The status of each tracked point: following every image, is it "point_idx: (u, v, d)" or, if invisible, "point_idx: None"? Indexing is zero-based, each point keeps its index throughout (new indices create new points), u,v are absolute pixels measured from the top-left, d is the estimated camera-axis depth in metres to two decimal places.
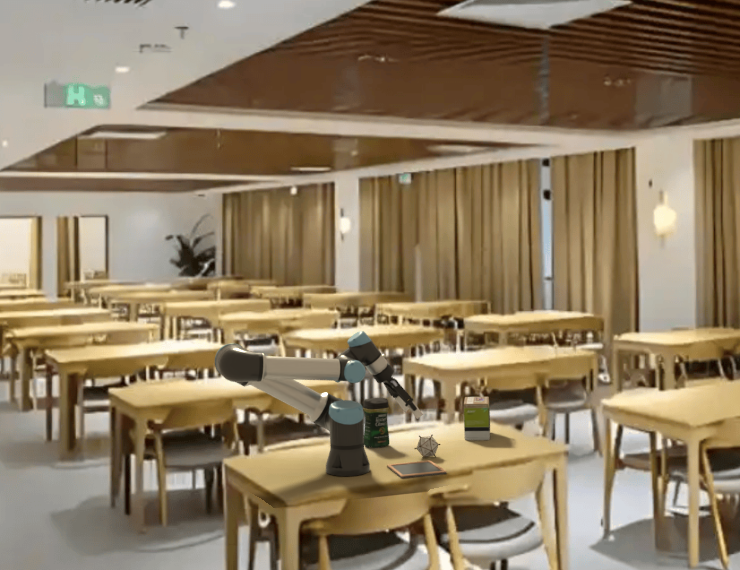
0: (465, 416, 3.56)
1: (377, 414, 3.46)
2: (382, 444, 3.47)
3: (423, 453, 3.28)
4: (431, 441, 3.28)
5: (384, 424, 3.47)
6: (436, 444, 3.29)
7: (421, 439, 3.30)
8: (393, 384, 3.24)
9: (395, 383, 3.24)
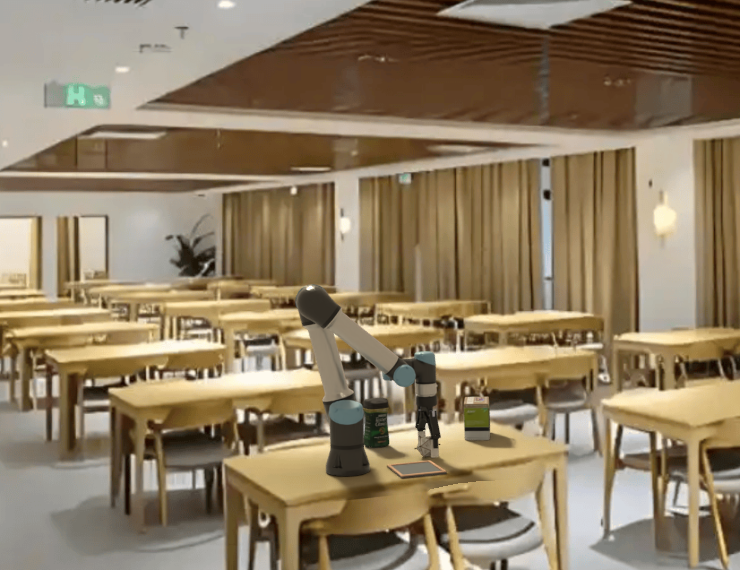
0: (465, 416, 3.56)
1: (377, 415, 3.46)
2: (382, 444, 3.47)
3: (423, 453, 3.28)
4: None
5: (384, 424, 3.47)
6: None
7: (421, 439, 3.30)
8: (431, 413, 3.23)
9: (434, 413, 3.23)
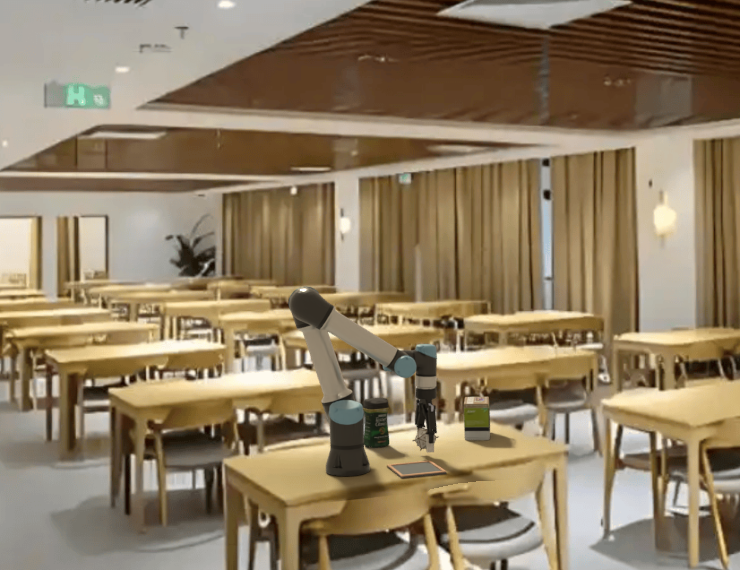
0: (465, 416, 3.56)
1: (377, 415, 3.46)
2: (382, 444, 3.47)
3: (421, 445, 3.28)
4: None
5: (384, 424, 3.47)
6: (434, 437, 3.29)
7: (419, 431, 3.29)
8: (430, 408, 3.23)
9: (432, 408, 3.23)
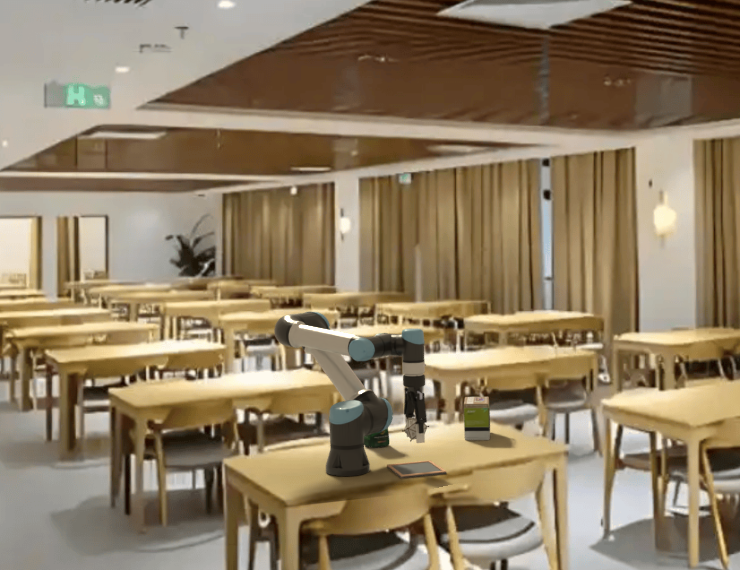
0: (465, 416, 3.56)
1: None
2: (382, 444, 3.47)
3: (411, 436, 3.09)
4: None
5: None
6: (425, 426, 3.10)
7: (409, 421, 3.11)
8: (419, 396, 3.04)
9: (421, 396, 3.05)
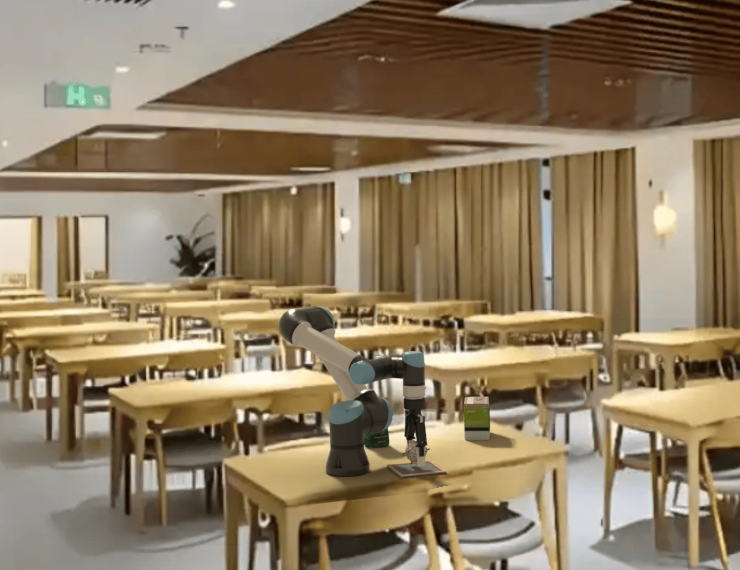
0: (465, 416, 3.56)
1: None
2: (382, 444, 3.47)
3: (411, 458, 3.10)
4: None
5: None
6: (425, 449, 3.10)
7: (409, 444, 3.11)
8: (419, 419, 3.05)
9: (422, 419, 3.05)
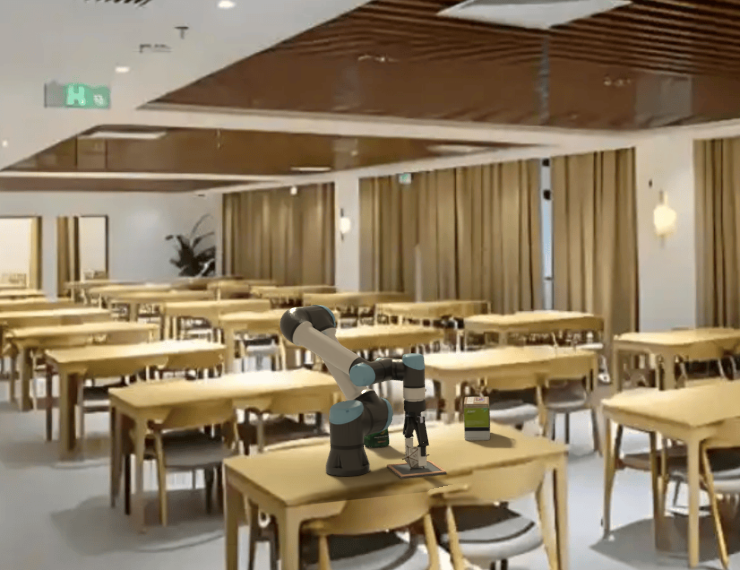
0: (465, 416, 3.56)
1: None
2: (382, 444, 3.47)
3: (411, 464, 3.10)
4: None
5: None
6: None
7: (409, 449, 3.12)
8: (419, 419, 3.05)
9: (422, 419, 3.05)
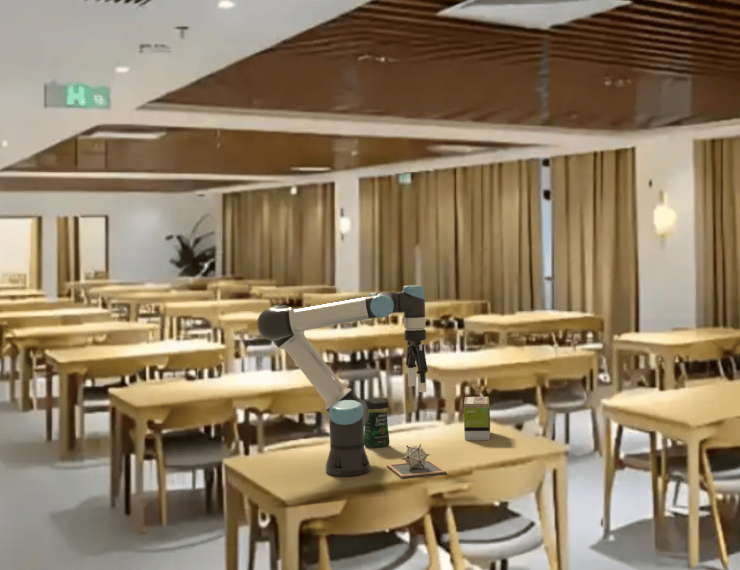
0: (465, 416, 3.56)
1: (377, 415, 3.46)
2: (382, 444, 3.47)
3: (411, 464, 3.10)
4: (419, 451, 3.10)
5: (384, 424, 3.47)
6: (425, 455, 3.11)
7: (409, 449, 3.12)
8: (419, 347, 3.16)
9: (421, 347, 3.16)
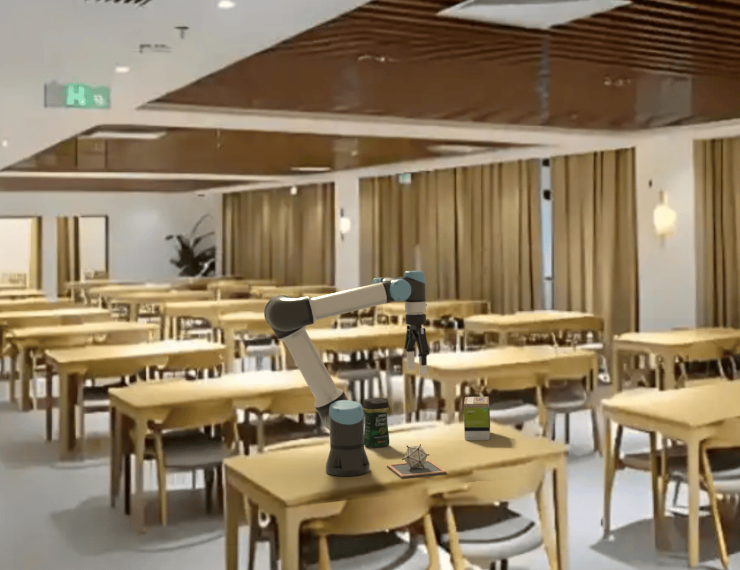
0: (465, 416, 3.56)
1: (377, 415, 3.46)
2: (382, 444, 3.47)
3: (411, 464, 3.10)
4: (419, 451, 3.10)
5: (384, 424, 3.47)
6: (425, 455, 3.11)
7: (409, 449, 3.12)
8: (420, 330, 3.25)
9: (422, 331, 3.25)
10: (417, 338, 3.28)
